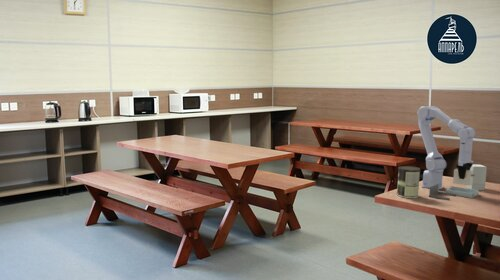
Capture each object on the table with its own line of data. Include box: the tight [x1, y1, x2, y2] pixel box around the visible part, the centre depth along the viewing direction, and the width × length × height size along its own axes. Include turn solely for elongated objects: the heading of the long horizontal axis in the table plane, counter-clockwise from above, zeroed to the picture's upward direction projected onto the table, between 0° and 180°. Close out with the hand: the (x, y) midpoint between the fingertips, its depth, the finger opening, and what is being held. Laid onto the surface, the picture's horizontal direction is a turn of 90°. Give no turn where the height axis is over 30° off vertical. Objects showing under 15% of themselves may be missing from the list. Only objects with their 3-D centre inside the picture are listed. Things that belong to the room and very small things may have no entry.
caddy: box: [452, 168, 475, 186], centre depth 249 cm, size 9×5×7 cm, turn 51°
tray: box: [445, 186, 480, 199], centre depth 250 cm, size 13×10×2 cm
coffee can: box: [396, 165, 421, 199], centre depth 244 cm, size 10×10×14 cm
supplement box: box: [465, 163, 488, 191], centre depth 263 cm, size 7×7×13 cm
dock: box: [428, 183, 457, 201], centre depth 244 cm, size 10×11×5 cm
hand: (463, 178), depth 249 cm, fingers closed on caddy, 5 cm apart
